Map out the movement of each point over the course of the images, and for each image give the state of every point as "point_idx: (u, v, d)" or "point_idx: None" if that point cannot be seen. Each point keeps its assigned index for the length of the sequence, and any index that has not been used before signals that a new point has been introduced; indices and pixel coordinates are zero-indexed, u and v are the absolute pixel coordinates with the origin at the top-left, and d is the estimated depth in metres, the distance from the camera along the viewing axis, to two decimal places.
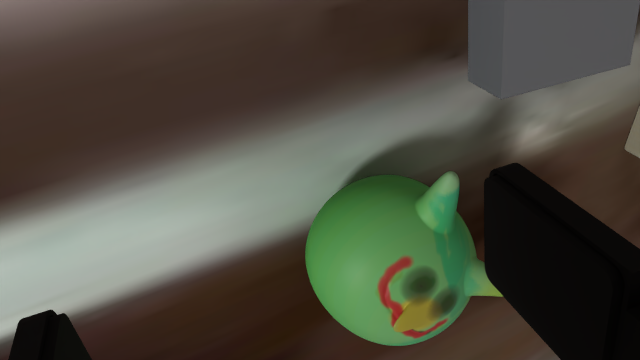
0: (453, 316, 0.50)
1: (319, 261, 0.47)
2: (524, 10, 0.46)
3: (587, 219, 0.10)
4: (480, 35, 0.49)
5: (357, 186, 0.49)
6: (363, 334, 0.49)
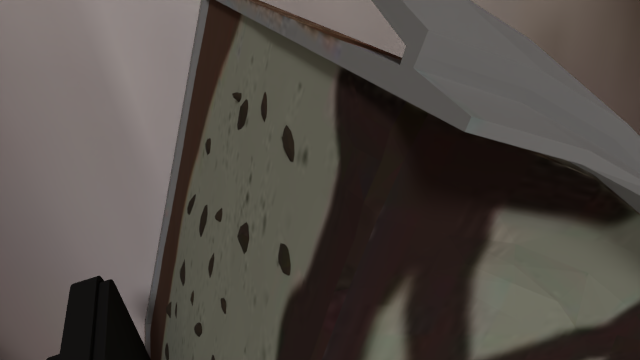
0: None
1: None
2: None
3: None
4: None
5: None
6: None
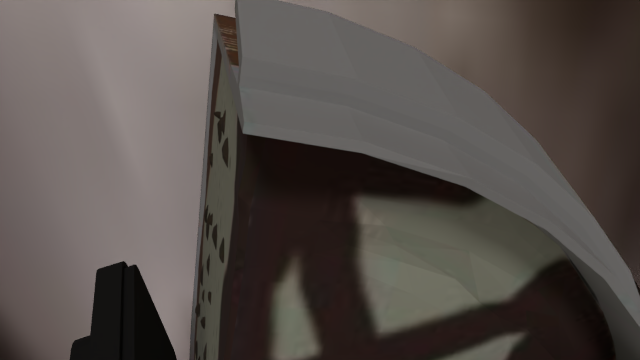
0: None
1: None
2: None
3: None
4: None
5: None
6: None
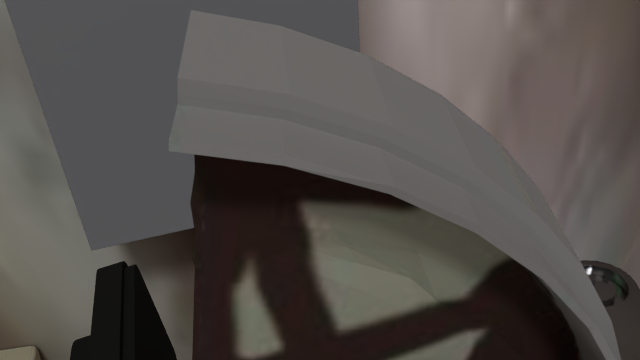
0: None
1: None
2: None
3: None
4: None
5: None
6: None
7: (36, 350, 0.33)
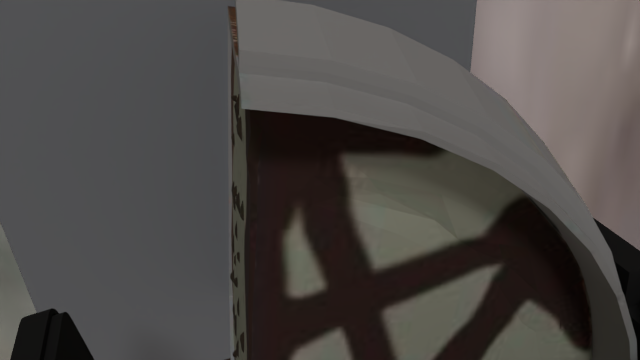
0: None
1: None
2: None
3: None
4: None
5: None
6: None
7: None
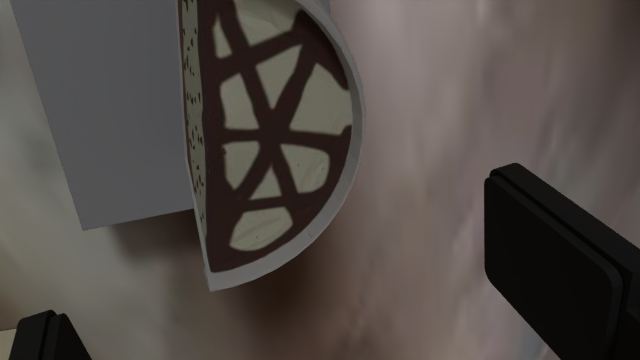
0: None
1: None
2: None
3: (587, 219, 0.10)
4: None
5: None
6: None
7: None
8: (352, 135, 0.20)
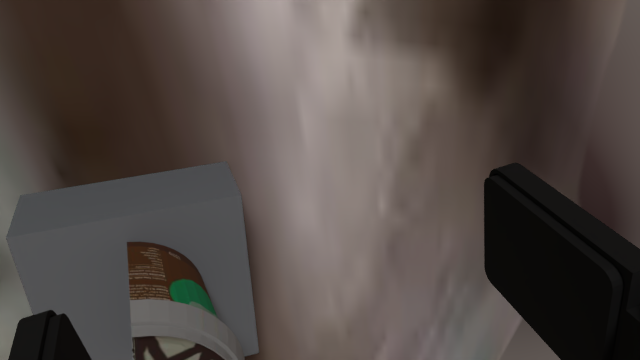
0: None
1: None
2: (145, 240, 0.35)
3: (587, 219, 0.10)
4: (99, 195, 0.36)
5: None
6: None
7: None
8: None
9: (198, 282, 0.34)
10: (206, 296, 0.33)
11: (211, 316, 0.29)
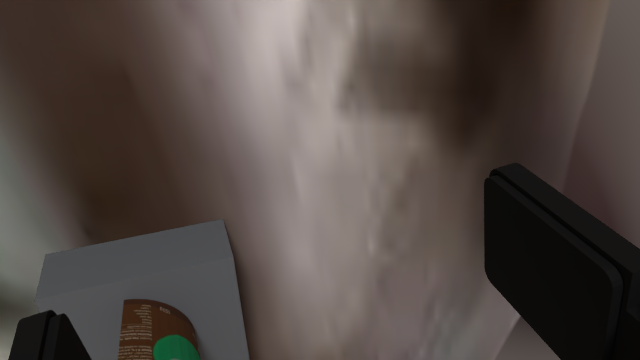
0: None
1: None
2: (151, 296, 0.40)
3: (587, 219, 0.10)
4: (112, 255, 0.42)
5: None
6: None
7: None
8: None
9: (184, 334, 0.39)
10: (190, 347, 0.39)
11: None
